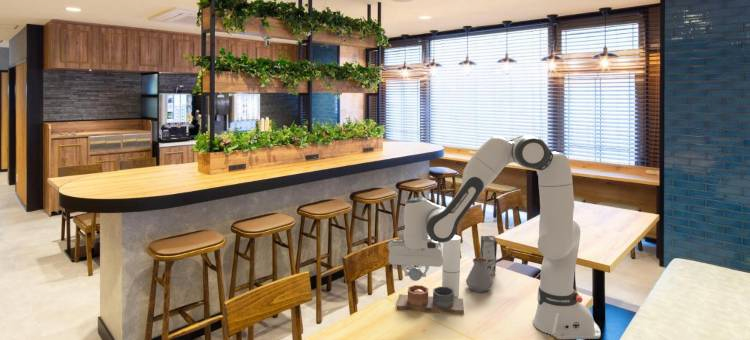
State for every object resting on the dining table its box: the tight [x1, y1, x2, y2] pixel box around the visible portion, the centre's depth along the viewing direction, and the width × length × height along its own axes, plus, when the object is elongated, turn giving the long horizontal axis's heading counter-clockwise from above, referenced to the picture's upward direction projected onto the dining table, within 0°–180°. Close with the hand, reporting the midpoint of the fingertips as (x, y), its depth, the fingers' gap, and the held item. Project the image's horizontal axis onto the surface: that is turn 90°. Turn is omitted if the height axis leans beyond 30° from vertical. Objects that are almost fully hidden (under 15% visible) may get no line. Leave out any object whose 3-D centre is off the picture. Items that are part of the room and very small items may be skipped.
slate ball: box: [408, 266, 423, 282], centre depth 169 cm, size 5×5×5 cm
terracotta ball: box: [413, 289, 424, 293], centre depth 179 cm, size 5×5×5 cm
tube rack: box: [396, 284, 465, 315], centre depth 179 cm, size 26×10×6 cm, turn 81°
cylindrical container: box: [441, 234, 462, 298], centre depth 188 cm, size 7×7×25 cm
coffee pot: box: [465, 252, 515, 293], centre depth 195 cm, size 21×12×15 cm, turn 101°
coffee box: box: [479, 235, 498, 276], centre depth 213 cm, size 9×6×16 cm
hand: (415, 275), depth 169 cm, fingers closed on slate ball, 5 cm apart
